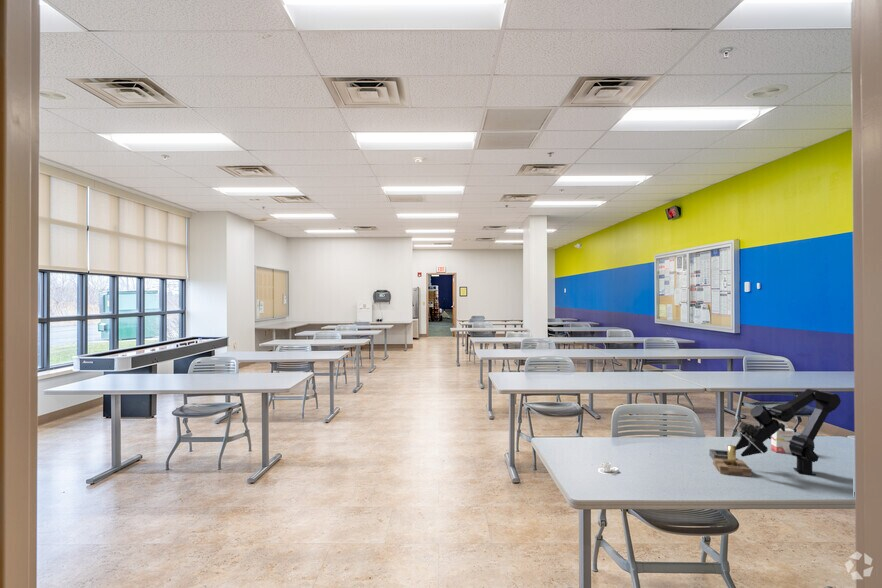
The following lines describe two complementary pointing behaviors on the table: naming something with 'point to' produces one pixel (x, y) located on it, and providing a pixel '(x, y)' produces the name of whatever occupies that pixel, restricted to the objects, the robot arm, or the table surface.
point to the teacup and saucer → (608, 468)
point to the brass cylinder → (732, 455)
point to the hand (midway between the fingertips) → (738, 452)
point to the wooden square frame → (731, 467)
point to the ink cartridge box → (782, 439)
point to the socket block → (718, 454)
